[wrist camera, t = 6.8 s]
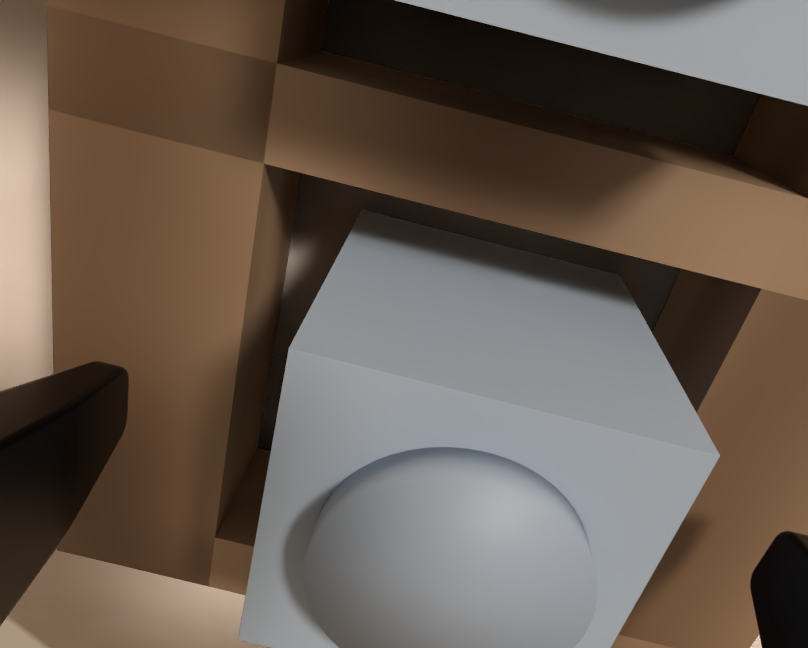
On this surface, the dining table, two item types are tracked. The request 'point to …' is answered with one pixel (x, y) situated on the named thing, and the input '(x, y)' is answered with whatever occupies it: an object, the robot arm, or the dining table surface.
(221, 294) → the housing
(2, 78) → the dining table surface
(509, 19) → the pale blue studded block
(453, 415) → the domed grey cube
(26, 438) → the robot arm
